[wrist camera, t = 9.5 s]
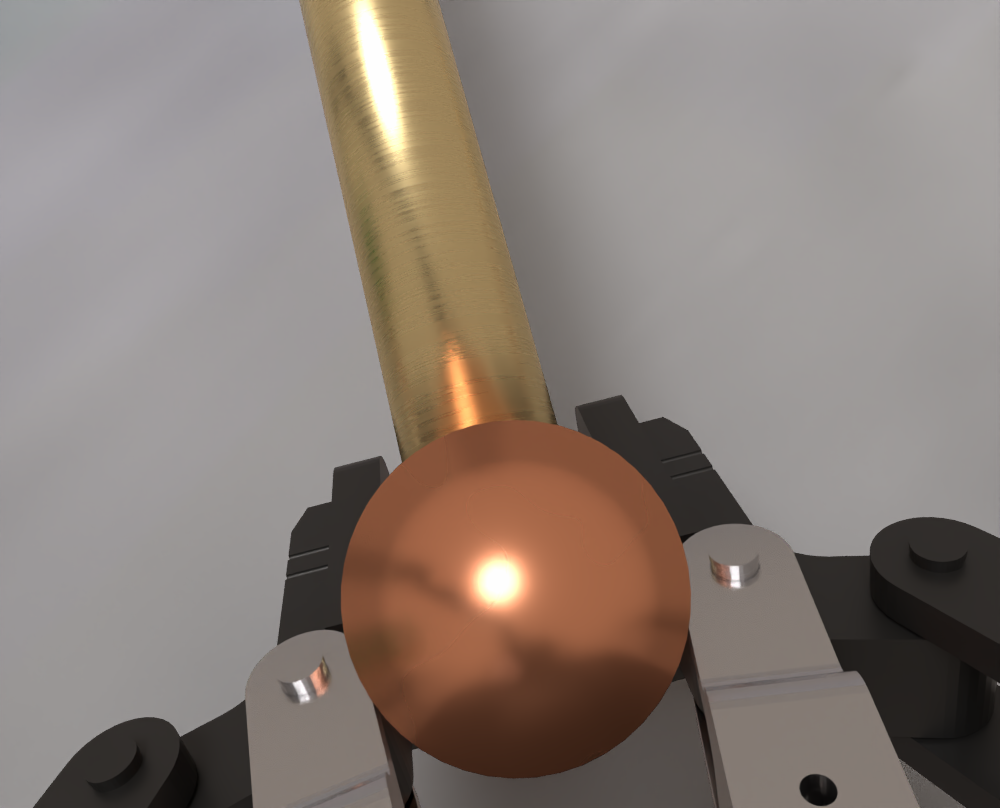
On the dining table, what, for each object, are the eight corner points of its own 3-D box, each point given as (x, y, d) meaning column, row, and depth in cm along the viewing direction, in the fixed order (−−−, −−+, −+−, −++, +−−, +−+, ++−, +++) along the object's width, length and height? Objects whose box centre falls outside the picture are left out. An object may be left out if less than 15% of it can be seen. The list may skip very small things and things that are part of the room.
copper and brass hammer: (628, 682, 16) (739, 725, 7) (469, 723, 15) (379, 821, 7) (395, -152, 21) (295, -700, 13) (278, -124, 21) (98, -657, 13)
